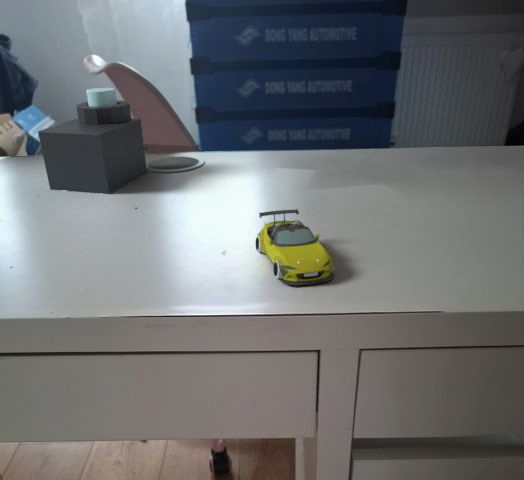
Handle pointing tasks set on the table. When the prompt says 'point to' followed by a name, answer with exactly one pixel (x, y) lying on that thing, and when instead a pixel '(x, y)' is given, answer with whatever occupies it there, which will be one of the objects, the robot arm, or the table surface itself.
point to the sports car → (294, 251)
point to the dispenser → (94, 150)
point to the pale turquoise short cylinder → (101, 97)
